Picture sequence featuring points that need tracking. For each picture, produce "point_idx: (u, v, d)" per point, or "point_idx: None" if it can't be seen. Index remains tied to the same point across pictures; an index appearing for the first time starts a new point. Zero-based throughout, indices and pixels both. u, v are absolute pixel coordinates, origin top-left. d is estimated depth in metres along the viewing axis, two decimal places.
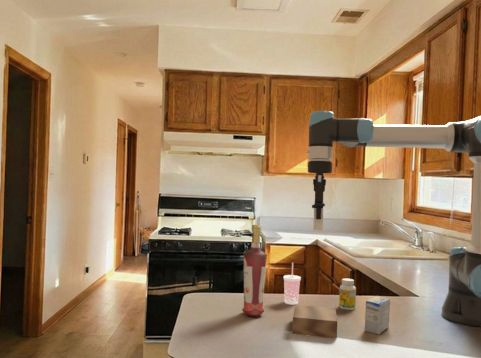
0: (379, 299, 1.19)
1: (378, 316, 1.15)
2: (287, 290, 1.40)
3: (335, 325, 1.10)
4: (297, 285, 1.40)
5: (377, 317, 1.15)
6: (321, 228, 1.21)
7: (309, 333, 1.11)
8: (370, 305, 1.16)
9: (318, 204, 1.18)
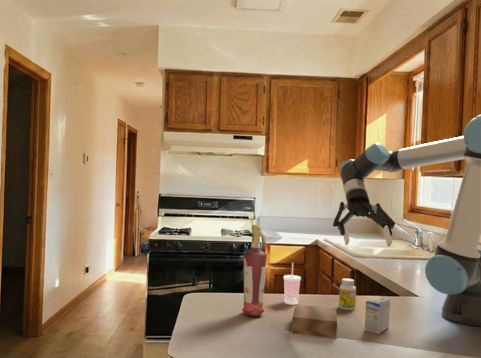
0: (379, 299, 1.19)
1: (378, 316, 1.15)
2: (287, 290, 1.40)
3: (335, 325, 1.10)
4: (297, 285, 1.40)
5: (377, 317, 1.15)
6: (346, 238, 1.29)
7: (309, 333, 1.11)
8: (370, 305, 1.16)
9: (333, 223, 1.35)
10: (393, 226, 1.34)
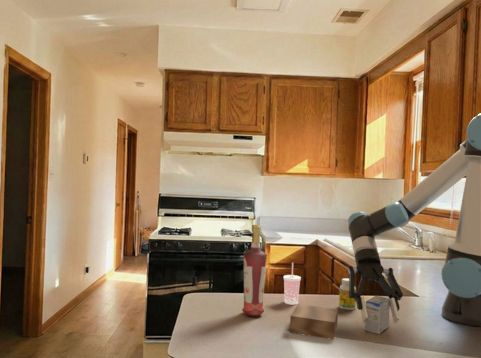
0: (379, 299, 1.19)
1: (378, 316, 1.15)
2: (287, 290, 1.40)
3: (332, 326, 1.10)
4: (297, 285, 1.40)
5: (377, 317, 1.15)
6: (364, 315, 1.15)
7: (306, 332, 1.12)
8: (370, 305, 1.16)
9: (349, 295, 1.21)
10: (400, 298, 1.20)
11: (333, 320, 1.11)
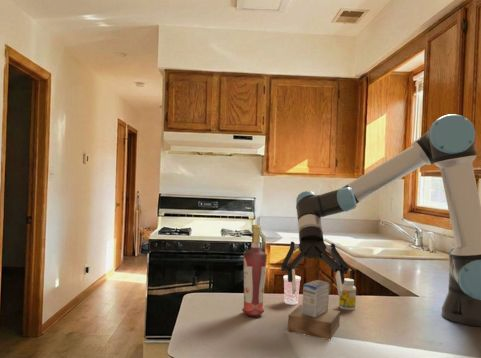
0: (318, 282, 1.17)
1: (314, 299, 1.13)
2: (287, 290, 1.40)
3: (329, 327, 1.09)
4: (297, 285, 1.40)
5: (314, 300, 1.13)
6: (293, 287, 1.14)
7: (304, 332, 1.12)
8: (307, 288, 1.14)
9: (281, 267, 1.20)
10: (347, 271, 1.20)
11: (330, 321, 1.10)
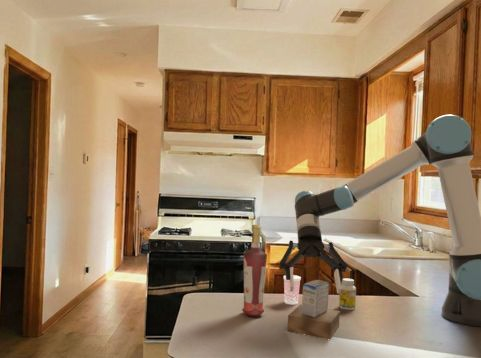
0: (317, 282, 1.17)
1: (314, 299, 1.13)
2: (287, 290, 1.40)
3: (328, 327, 1.09)
4: (297, 285, 1.40)
5: (314, 300, 1.13)
6: (291, 285, 1.16)
7: (303, 332, 1.12)
8: (307, 288, 1.14)
9: (279, 265, 1.22)
10: (345, 269, 1.22)
11: (330, 321, 1.10)
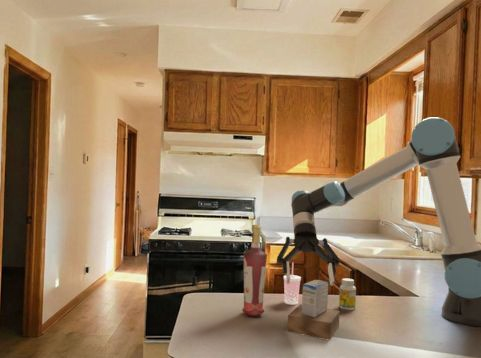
0: (317, 282, 1.17)
1: (314, 299, 1.13)
2: (288, 290, 1.40)
3: (328, 327, 1.09)
4: (297, 285, 1.40)
5: (314, 300, 1.13)
6: (287, 278, 1.25)
7: (303, 332, 1.12)
8: (307, 288, 1.14)
9: None
10: (338, 263, 1.31)
11: (330, 321, 1.10)
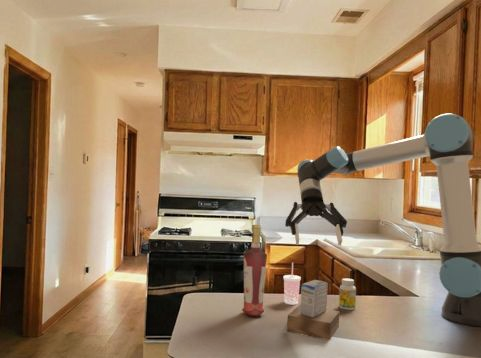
0: (316, 282, 1.17)
1: (312, 299, 1.13)
2: (287, 290, 1.40)
3: (328, 327, 1.09)
4: (297, 285, 1.40)
5: (312, 300, 1.13)
6: (296, 238, 1.29)
7: (303, 332, 1.12)
8: (305, 288, 1.14)
9: (285, 223, 1.35)
10: (345, 225, 1.34)
11: (329, 321, 1.10)
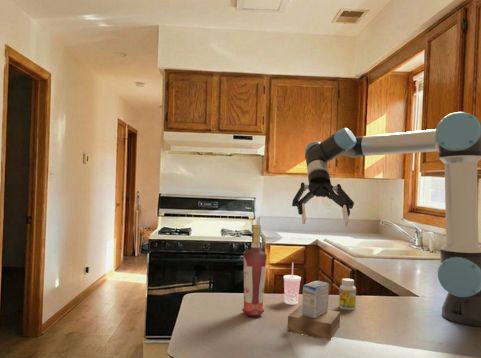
0: (317, 283, 1.17)
1: (314, 300, 1.12)
2: (288, 290, 1.40)
3: (328, 327, 1.09)
4: (297, 285, 1.40)
5: (314, 301, 1.13)
6: (303, 217, 1.29)
7: (303, 333, 1.12)
8: (307, 289, 1.14)
9: (292, 202, 1.35)
10: (352, 206, 1.35)
11: (330, 322, 1.10)
